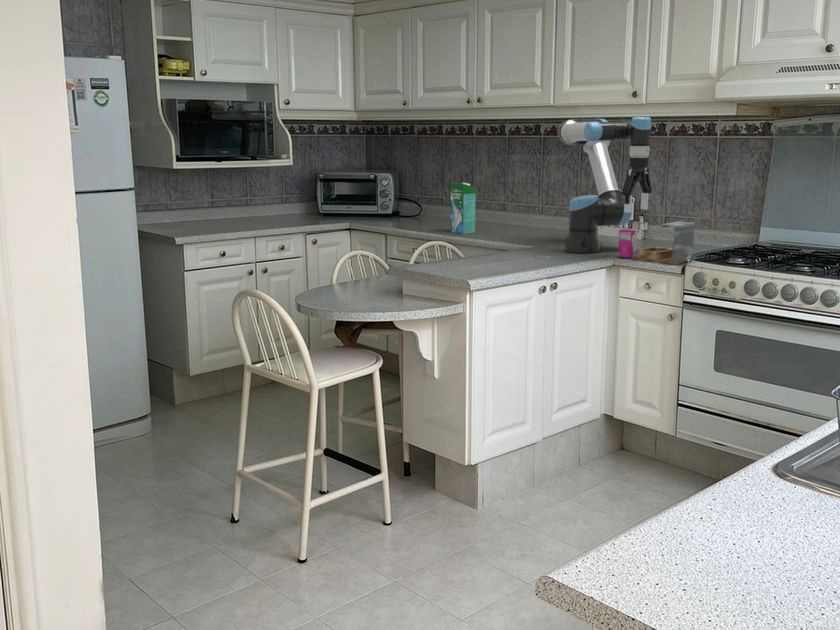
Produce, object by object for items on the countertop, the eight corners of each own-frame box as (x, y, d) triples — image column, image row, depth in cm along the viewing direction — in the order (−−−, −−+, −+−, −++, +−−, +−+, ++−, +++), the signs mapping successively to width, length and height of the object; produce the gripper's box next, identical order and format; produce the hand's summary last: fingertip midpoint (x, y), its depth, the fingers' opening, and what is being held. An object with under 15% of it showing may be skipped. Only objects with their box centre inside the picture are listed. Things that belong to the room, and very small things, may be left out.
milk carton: (475, 232, 425) (476, 182, 419) (462, 233, 419) (463, 183, 413) (463, 231, 431) (463, 181, 426) (450, 232, 426) (450, 182, 420)
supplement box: (623, 256, 343) (625, 228, 341) (637, 257, 340) (638, 229, 337) (617, 257, 339) (618, 229, 337) (631, 259, 335) (632, 230, 333)
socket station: (633, 259, 333) (634, 222, 330) (651, 256, 343) (653, 219, 340) (674, 264, 321) (676, 225, 318) (692, 260, 330) (694, 222, 327)
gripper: (632, 158, 319) (628, 214, 324) (662, 156, 337) (659, 208, 342) (614, 157, 324) (611, 212, 329) (645, 155, 342) (642, 207, 347)
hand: (635, 210), depth 335 cm, fingers open, 13 cm apart
